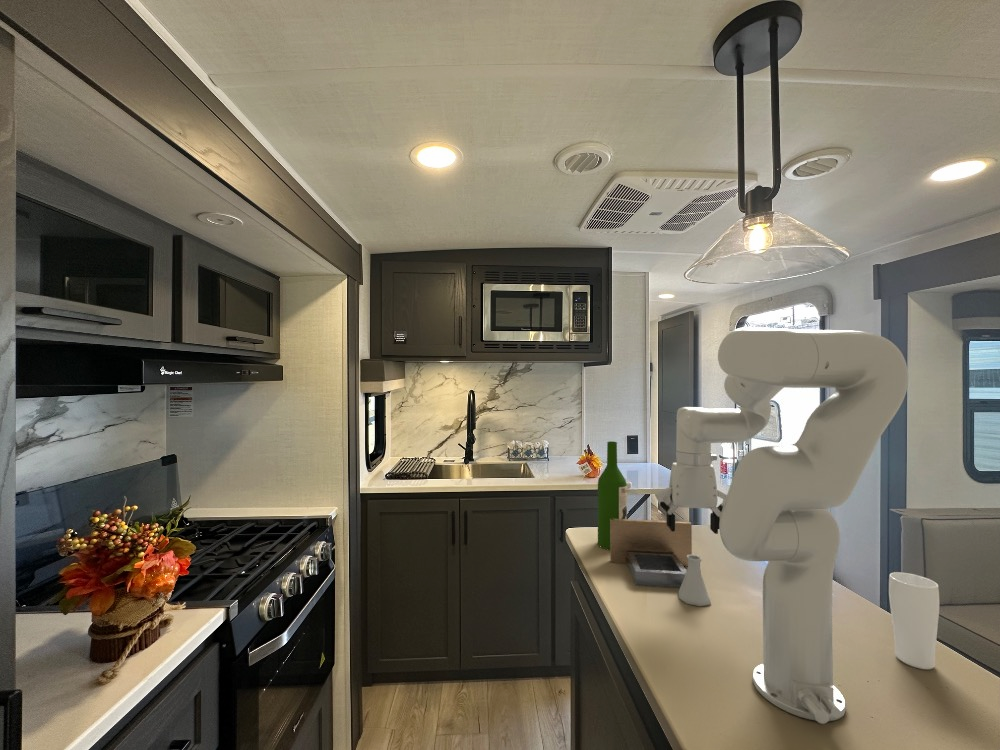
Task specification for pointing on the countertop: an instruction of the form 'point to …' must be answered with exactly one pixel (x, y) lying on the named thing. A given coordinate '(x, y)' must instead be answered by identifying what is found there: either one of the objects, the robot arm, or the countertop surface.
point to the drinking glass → (914, 618)
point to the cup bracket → (652, 550)
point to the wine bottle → (610, 496)
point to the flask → (694, 584)
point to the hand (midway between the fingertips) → (692, 530)
